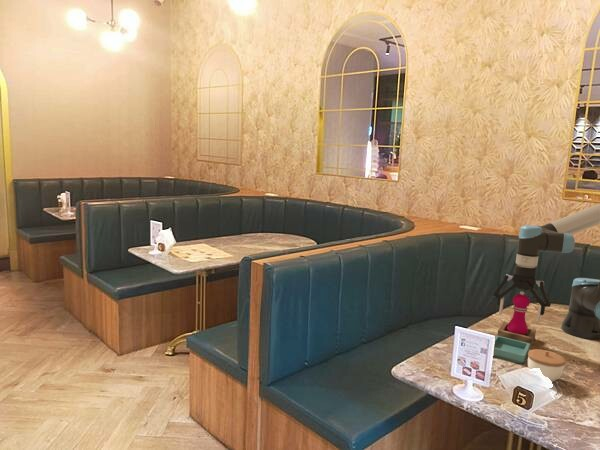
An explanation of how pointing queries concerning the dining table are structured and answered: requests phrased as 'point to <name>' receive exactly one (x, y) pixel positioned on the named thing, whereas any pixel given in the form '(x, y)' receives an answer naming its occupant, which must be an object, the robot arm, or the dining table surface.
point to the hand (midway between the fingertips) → (518, 318)
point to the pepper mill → (519, 314)
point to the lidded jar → (546, 363)
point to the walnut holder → (524, 338)
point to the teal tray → (511, 349)
